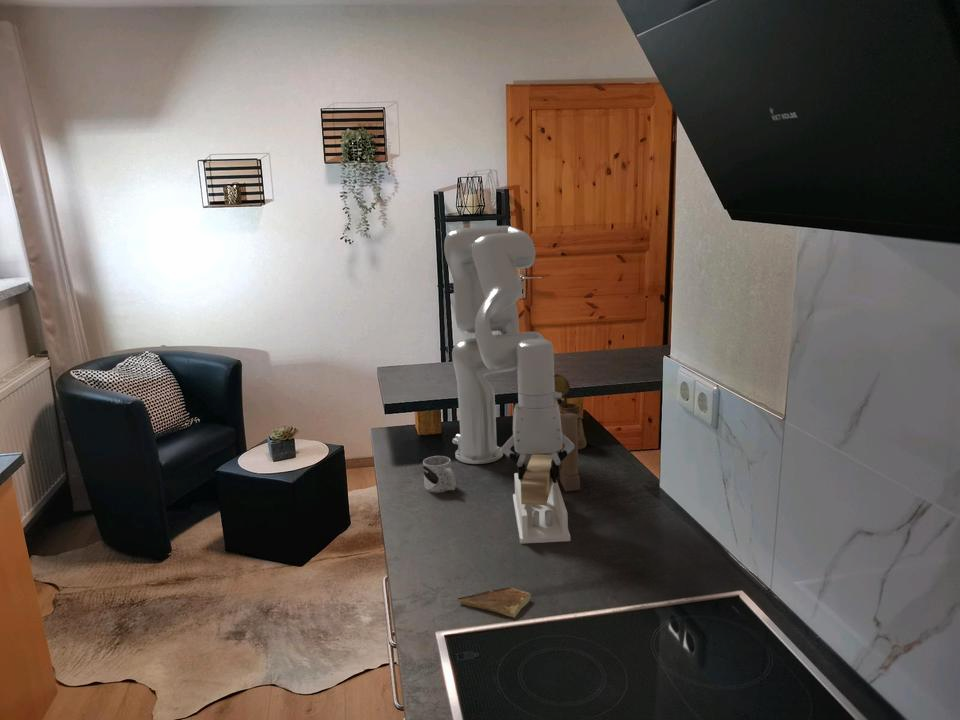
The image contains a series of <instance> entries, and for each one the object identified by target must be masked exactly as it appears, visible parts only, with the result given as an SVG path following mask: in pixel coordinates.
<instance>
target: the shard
mask: <svg viewBox="0 0 960 720" xmlns="http://www.w3.org/2000/svg"><path fill="white" fill-rule="evenodd" d="M530 598H531V593H530V592H528V591H523V590H520V589H516V588H514V587H513V586H509V587H508V586H507V587H504V588H499V589H492V590H487V591H483V592H479V593H475V594H472V595H468V596H462V597H458V598H457V600H458V601H459V602H460V605H463V606H466V607H467V606H468V607H473V608H477V609H482V610H487V611H490V612H494V613H497V614H500V615H503V616H507V617H511V618H514V619H515V618H516V616H517V615H519V613H520V611H521V610H522V609H523V608H524V607H525V606H526V605H527V604H528V603H529V601H530Z"/></svg>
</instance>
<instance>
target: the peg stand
mask: <svg viewBox="0 0 960 720" xmlns="http://www.w3.org/2000/svg"><path fill="white" fill-rule="evenodd" d="M513 475H514V478H513V479H514V493H513V494H512V500H513V501H512V502H513V505H514V512H515V513H514V514H515V519H516V526H517V530H518V538H519V544H537V543H538V544H539V543H556V542H571V534H570V531H569V526H568V525H569V524H568V523H569V522H568V519H569V517H568V516H569V515H568V511H567V507H566V504H565V502H564V499H563V495H562V492H561V489H560V485H559V483H558V480H557V479H558V478H556V480H557V483H554V482H553V483H552V486H551V490H550V493H549V497H548V500H547V504H546V505H530V504H521V479H518V472H515V473H514V474H513Z"/></svg>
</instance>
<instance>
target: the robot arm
mask: <svg viewBox="0 0 960 720" xmlns="http://www.w3.org/2000/svg"><path fill="white" fill-rule="evenodd" d="M443 247H444V248H443V249H444V256H445V260H446V264H447V266H448V268H449V270H450V274H451V278H452V282H453V297H454V312H455V313H454V315H455V321H456V326H457V328H458V331H460V332H461V333H462V334H475V337H473V338H466V339H463V340H461V341H458V342H457V343H456V344H455V345H454V346H453V348H452V351H451V357H452V364H453V368H454V373H455V378H456V379H455V380H456V385H457V386H456V387H457V388H456V389H457V401H458V402H457V403H458V418H459V433H457V434H455V436H454V437H453V438H452V440H451V442H452V443H453V444H454V445H457V449H456V450H455V453H454V455H455V459H456V460H458V461H459V462H461V463H464V464H471V465H482V464H483V465H484V464H490V463H493V462H496V461H498V460H500V459H501V458H502V457H503V456H504V455H505V456H506V457H508V458H509V459H510V460H511V461H512V462H513V463H514V464H516V465H517V473H518V479H520V481H522V479H523V476H524V474H525V471H526V464H525V459H526V457H527V455H538V454H550V455H552V457H553V459H552V461H551V473H552V481H553V482H554V483H557V482H558V480H556V479H558V477H559V464H560V463H561V461H562V460H563V459H564V458H565V457H566V456H567V454H568V453H570V452H571V451H572V450H573V449H574V448H575V446H574V444H573V443H572V442H571V441H570V440H569V439H568V438H567V437H566V436H565V435H564V434H563V433H562V427H561V419H560V411H559V407H558V402H557V400H558V399H562V393H558V392H556V391H555V388H554V375H555V352H554V351H555V349H554V345H553V342H551V341H550V340H548V339H545V337H544V336H543V335H542V334H541V333H540V332H538V331H523V332H520V323H519V322H520V320H519V310H518V305H517V303H516V302H517V301H518V300H519V299H520V298H521V297H522V295H523V287H522V284H521V281H520V279H519V278H520V277H519V275H518V273H517V270H521V269H528V268H531V267H532V266H533V265H534V263H535V260H536V247H535V244H534V242H533V239H532V238H531V237H530V235H529V234H528V233H526V232H525V231H524V230H521V229H519V228H516V227H514V226H511V225H494V226H493V225H491V226H475V227H474V226H473V227H464V228H458V229H457V228H456V229H454V230H451V231H450V232H448V233H447V234H446V236H445V239H444V243H443ZM493 332H498V335H494V334H493ZM514 370H516V373H517V374H516V375H517V399H518V400H517V401H518V402H517V403H515V404H514V407H513V414H512V435H511V436H510V437H509V438H508V439H507V440H506V442H505V443H504V444H503V445H502V446H498V444H497V442H498V441H497V440H498V439H497V421H496V419H497V418H496V401H495V400H496V398H495V397H496V396H495V394H496V393H495V390H494V389H495V388H494V387H493V385H492V384H491V383H490V382H489V381H488V380H487V379H486V378H485V376H487V375H491V374H500V373H506V372H511V371H514ZM562 442H563V443H564V444H565V445H566V446H565V447H564V449H562V444H563V443H562ZM512 447H514V451H515V452H514V451H513V450H511V448H512ZM561 449H562V450H561ZM560 450H561V451H560ZM558 451H560V452H559V453H557V452H558Z"/></svg>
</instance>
